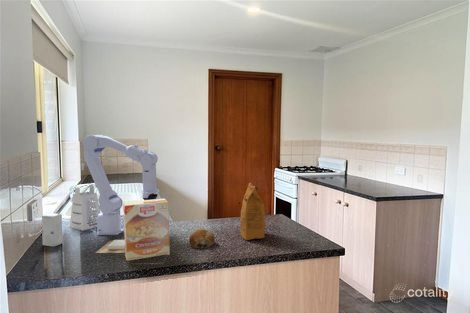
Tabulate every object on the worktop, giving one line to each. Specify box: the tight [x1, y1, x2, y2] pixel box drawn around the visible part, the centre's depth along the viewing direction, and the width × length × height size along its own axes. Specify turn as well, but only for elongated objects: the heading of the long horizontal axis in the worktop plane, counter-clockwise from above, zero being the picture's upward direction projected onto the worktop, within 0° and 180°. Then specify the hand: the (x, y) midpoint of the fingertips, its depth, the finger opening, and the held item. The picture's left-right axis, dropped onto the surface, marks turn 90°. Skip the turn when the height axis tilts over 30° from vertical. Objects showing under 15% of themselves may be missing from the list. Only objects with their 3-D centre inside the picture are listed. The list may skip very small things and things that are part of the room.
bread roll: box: [188, 228, 216, 249], centre depth 127 cm, size 10×10×8 cm
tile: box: [107, 239, 125, 250], centre depth 125 cm, size 7×2×7 cm
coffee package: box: [239, 182, 266, 241], centre depth 135 cm, size 10×12×22 cm
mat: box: [94, 239, 125, 254], centre depth 125 cm, size 14×14×1 cm
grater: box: [69, 183, 101, 231], centre depth 155 cm, size 10×10×20 cm
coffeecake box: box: [122, 198, 171, 261], centre depth 116 cm, size 15×7×20 cm, turn 114°
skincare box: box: [41, 212, 63, 247], centre depth 130 cm, size 6×4×12 cm
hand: (150, 211), depth 142 cm, fingers closed
